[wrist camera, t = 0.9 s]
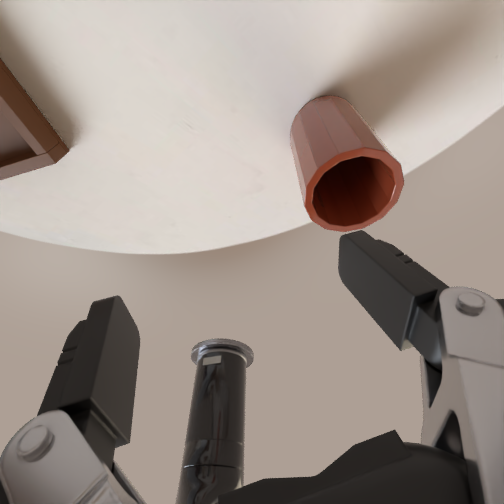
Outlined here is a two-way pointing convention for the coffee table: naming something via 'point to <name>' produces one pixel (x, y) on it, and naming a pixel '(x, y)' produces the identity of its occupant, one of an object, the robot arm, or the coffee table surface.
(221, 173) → the coffee table surface
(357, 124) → the tumbler
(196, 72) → the coffee table surface
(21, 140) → the tray
